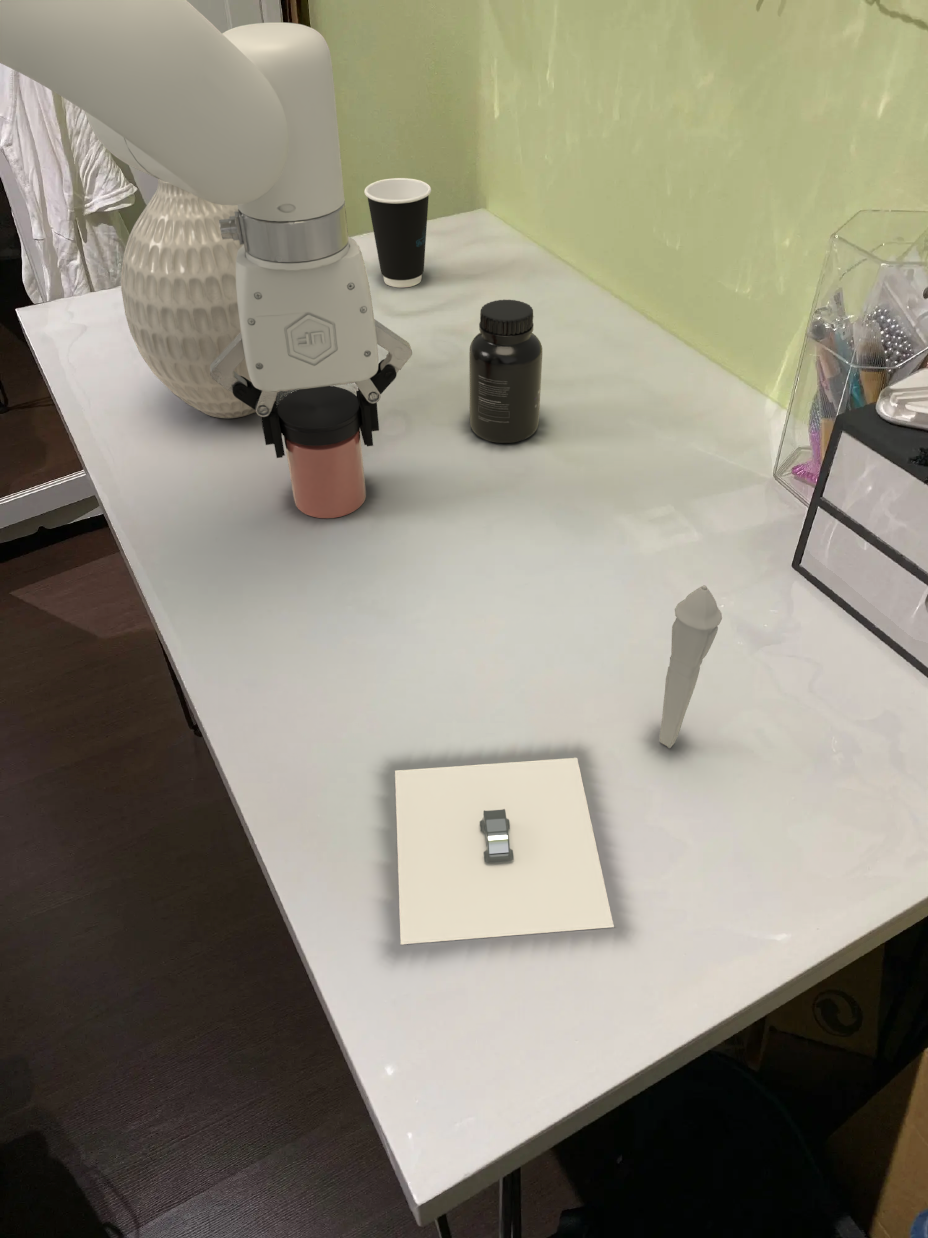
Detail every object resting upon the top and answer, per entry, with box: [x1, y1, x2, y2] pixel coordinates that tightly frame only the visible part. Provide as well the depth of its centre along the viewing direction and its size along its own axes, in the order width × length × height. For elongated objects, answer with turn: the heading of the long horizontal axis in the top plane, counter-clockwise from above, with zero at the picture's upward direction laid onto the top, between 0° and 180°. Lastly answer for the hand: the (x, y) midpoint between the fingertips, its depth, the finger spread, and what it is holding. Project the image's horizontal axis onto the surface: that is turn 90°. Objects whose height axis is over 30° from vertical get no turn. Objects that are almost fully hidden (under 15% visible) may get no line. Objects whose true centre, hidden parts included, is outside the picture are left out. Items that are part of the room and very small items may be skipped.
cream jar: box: [283, 428, 367, 519], centre depth 78 cm, size 6×6×8 cm
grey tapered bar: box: [659, 585, 723, 749], centre depth 56 cm, size 2×3×14 cm
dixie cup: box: [364, 177, 432, 289], centre depth 112 cm, size 8×8×11 cm
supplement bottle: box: [468, 299, 543, 444], centre depth 85 cm, size 7×7×12 cm
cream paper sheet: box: [394, 757, 615, 945], centre depth 55 cm, size 12×12×2 cm
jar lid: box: [277, 385, 362, 446], centre depth 75 cm, size 7×7×2 cm
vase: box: [120, 178, 256, 419], centre depth 86 cm, size 16×16×22 cm
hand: (323, 441), depth 77 cm, fingers closed on jar lid, 6 cm apart
